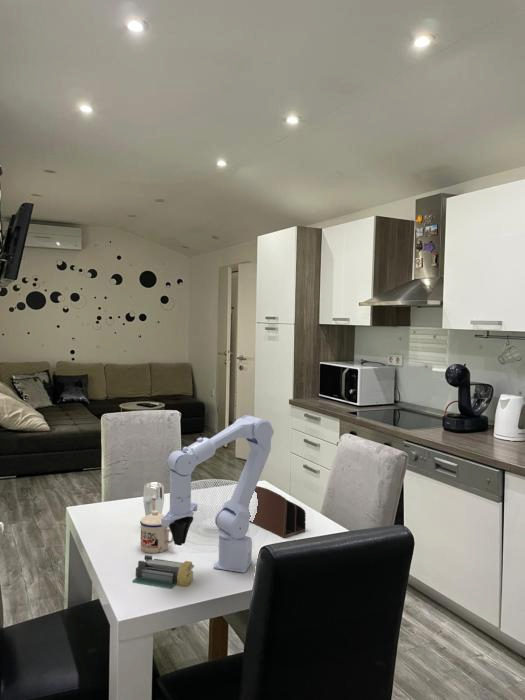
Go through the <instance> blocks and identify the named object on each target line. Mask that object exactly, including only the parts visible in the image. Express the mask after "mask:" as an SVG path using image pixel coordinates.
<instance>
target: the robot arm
mask: <svg viewBox="0 0 525 700" xmlns="http://www.w3.org/2000/svg"><path fill="white" fill-rule="evenodd" d="M274 433H275V431H274V429H273V426H272V424H271V422H270V421H269V420H268V419H264V418H260V417H256V416H253V415H252V414H246V415H243V416H241V417H240V418H237V419H236V420H235V421H234V422H233V423H232V424H231V425H229V426H227V427H226V428H225V429H223V430H221V431H220V432H218V433H217V434H215V435H213V436H212V437H210V438H208V437H206V436H204V437H198V438H197V439H196V441H195V442H193V443H192V444H190V445H188V446H184V447H182V450H174V451H173V452H171V453H170V454H169V456H168V458H167V460H166V461H165V462H166V466H167V468H168V469H169V510H168V512H167V513H166V514H164V515H165V517H163V518H162V519H161V526H166V527H168V526H169V528H170V530H171V532H170V534H171V537H172V536H173V540H174V541H173V544H174V545H175V546H176V545H177V546H182V545H184V544H185V543H186V540H187V536H188V533H189V532H188V531H189V529H190V527H191V525H192V523H193V521H194V515H195V514H194V513H195V512H197V511H198V503H193V502H192V501H191V500H192V495H191V494H192V491H191V490H192V484H191V483H192V474H193V471H194V470H195V468H196V466H198V465H200V464H201V463H203V462H205V461H207V460H208V459H210V458H211V457H213V456H215V455H216V454H215V453H216V450H217V449H219V448H222V447H223V446H225V445H227V444H229V443H231V442H233V441H235V440H237V439H239V438H241V439H245V440H246V441H247V443H248V445H249V448H250V451H249V454H248V456H247V459H246V462H245V463H244V467H243V469H242V471H241V474H240V475H239V479H238V481H237V484H236V486H235V488H234V491H233V493H232V496H231V498H230V499H229V500H227V501H226V502H224V503H223V505H222V507H221V509H220V510H219V511H218V512H217V513H216V516H215V518H214V522H215V526H216V527H217V529H218V560H217V562H216V563H215V565H214V566H213V569H217V570H223V571H232V572H237V573H244V574H245V573H246V571H248V569H249V567H250V566H251V564H252V563H253V559H252V557H253V556H252V553H253V552H252V551H253V540H252V537H250V536H247V533H248V531H249V524H250V522H249V519H250V517H251V515H250V512H249V509H248V508H249V503H250V500H251V498H252V495H253V493H254V490H255V488H256V486H258V483H259V480H260V477H261V475H262V472H263V471H264V468H265V465H266V464H267V463H266V462H267V460H268V458H269V456H270V453H271V449H272V448H271V447H272V438H273V435H274Z"/></svg>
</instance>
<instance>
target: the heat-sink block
mask: <svg viewBox="0 0 525 700" xmlns="http://www.w3.org/2000/svg"><path fill="white" fill-rule="evenodd" d="M153 560H159V561H167V562H175V563H182V561H181V562H179V561H175V560H174V561H173V560H166V559H160V558H154V559H153ZM178 570H179V569H172V568H165V567H157V566H148V567H145V569H143V570H142V576H137V577H136V576H135V578H134V579H133V580H132V583H135V584H141V585H148V586H152V585H153V587H154V586H155V587H158V586H159V588H167V589H173V588H174V587H175V585H177V575H178Z"/></svg>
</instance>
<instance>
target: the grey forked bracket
mask: <svg viewBox="0 0 525 700" xmlns="http://www.w3.org/2000/svg"><path fill="white" fill-rule="evenodd" d="M146 558H148V559H151V560H153V555H147V554H145V555H144V560H145V559H146ZM144 560H138V562H137V565H138V566H137V567H135V578H136V577H137V576H142V570H143V569H145V567H148V566H149V565H146V561H144Z"/></svg>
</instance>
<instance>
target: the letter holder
mask: <svg viewBox="0 0 525 700" xmlns="http://www.w3.org/2000/svg"><path fill="white" fill-rule="evenodd" d="M254 491H255V492H256V493H257V499H258V506H257V513H256V515H255V518H254V520H253V522H252V523H251V524H253V525H255V526H258V527H259V526H260V528H262V529H263V530H266V531H268V532H270V533H272V534H274V535H276V536H277V537H280V538H283V539H287V538H290V537H294V536H297V535H301V534H304V533H305V532H306V520H307V519H306V514H307V513H306V511H305V509H304V508H303V507H301V506H300V505H298V504H296V503H294V502H292V501H290V500H288V499H286V497H284V496H282V495H281V494H279V493H277V492H275V491H273V490H271V489H268V488H266V487H262V486H258V485H256V488H255V490H254Z"/></svg>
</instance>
